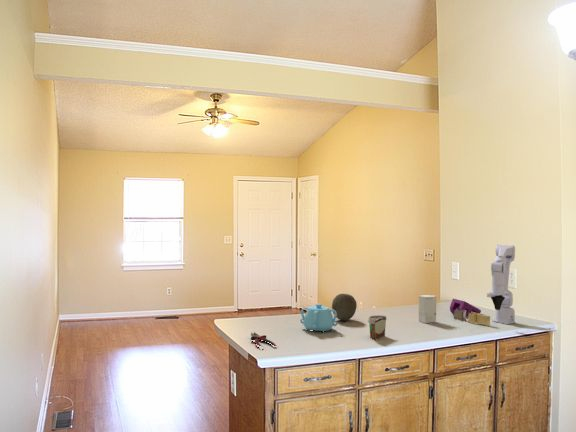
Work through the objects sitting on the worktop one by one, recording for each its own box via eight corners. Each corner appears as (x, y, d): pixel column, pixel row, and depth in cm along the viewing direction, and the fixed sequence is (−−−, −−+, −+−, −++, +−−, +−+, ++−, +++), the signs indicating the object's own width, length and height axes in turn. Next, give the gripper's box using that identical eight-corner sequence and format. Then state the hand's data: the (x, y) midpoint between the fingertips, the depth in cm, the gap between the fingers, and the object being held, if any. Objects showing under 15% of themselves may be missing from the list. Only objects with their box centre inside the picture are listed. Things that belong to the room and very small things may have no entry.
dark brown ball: (357, 323, 270) (358, 296, 270) (332, 322, 270) (332, 296, 270) (355, 317, 284) (355, 292, 284) (330, 317, 284) (331, 291, 284)
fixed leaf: (466, 320, 278) (466, 310, 278) (464, 321, 277) (464, 310, 277) (456, 318, 284) (456, 308, 284) (453, 318, 283) (454, 308, 283)
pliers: (278, 344, 221) (260, 329, 241) (260, 345, 217) (244, 331, 237) (277, 350, 221) (260, 335, 241) (259, 352, 217) (244, 337, 237)
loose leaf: (491, 324, 267) (491, 315, 267) (486, 326, 264) (486, 316, 264) (473, 321, 276) (473, 312, 276) (468, 322, 273) (468, 313, 273)
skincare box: (425, 323, 270) (425, 297, 270) (417, 321, 276) (418, 295, 276) (436, 322, 274) (437, 295, 274) (429, 319, 280) (429, 294, 279)
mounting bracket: (468, 321, 302) (448, 311, 295) (472, 309, 303) (452, 298, 296) (479, 325, 293) (459, 314, 286) (484, 312, 295) (464, 301, 288)
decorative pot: (325, 325, 265) (325, 300, 265) (339, 331, 251) (339, 305, 250) (298, 327, 259) (298, 302, 259) (311, 334, 244) (311, 307, 244)
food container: (375, 333, 248) (375, 314, 248) (386, 335, 244) (386, 315, 244) (363, 338, 238) (363, 318, 238) (374, 340, 234) (374, 320, 234)
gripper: (500, 282, 268) (500, 307, 269) (482, 284, 262) (482, 309, 262) (511, 284, 262) (511, 309, 262) (493, 286, 255) (492, 311, 256)
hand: (497, 309), depth 262 cm, fingers closed
